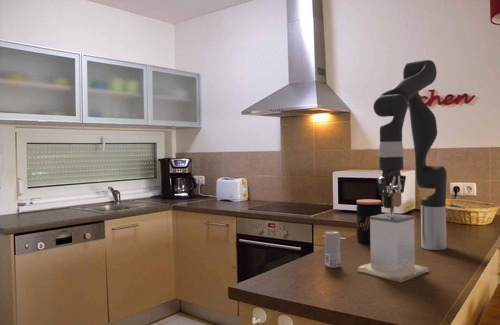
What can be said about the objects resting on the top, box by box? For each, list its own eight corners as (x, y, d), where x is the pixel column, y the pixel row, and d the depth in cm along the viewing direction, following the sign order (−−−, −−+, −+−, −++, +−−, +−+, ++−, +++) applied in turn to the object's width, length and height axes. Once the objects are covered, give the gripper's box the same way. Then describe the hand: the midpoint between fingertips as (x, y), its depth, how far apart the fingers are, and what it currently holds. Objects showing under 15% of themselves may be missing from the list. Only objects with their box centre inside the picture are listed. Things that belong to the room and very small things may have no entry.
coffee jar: (352, 242, 183) (351, 201, 183) (364, 237, 191) (363, 198, 191) (375, 245, 176) (374, 202, 175) (386, 240, 184) (385, 200, 183)
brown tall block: (389, 252, 144) (388, 191, 143) (408, 256, 138) (407, 192, 138) (376, 256, 140) (375, 192, 139) (396, 260, 134) (395, 194, 133)
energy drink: (338, 263, 150) (337, 230, 150) (342, 267, 145) (341, 233, 145) (323, 264, 150) (323, 230, 150) (326, 268, 145) (326, 233, 144)
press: (385, 262, 150) (384, 211, 150) (428, 271, 138) (427, 216, 137) (357, 271, 140) (357, 216, 140) (401, 282, 128) (400, 222, 127)
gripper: (393, 155, 145) (393, 204, 146) (368, 156, 136) (369, 208, 137) (413, 155, 139) (413, 206, 140) (388, 156, 130) (389, 210, 131)
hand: (391, 206), depth 138 cm, fingers closed on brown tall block, 4 cm apart
